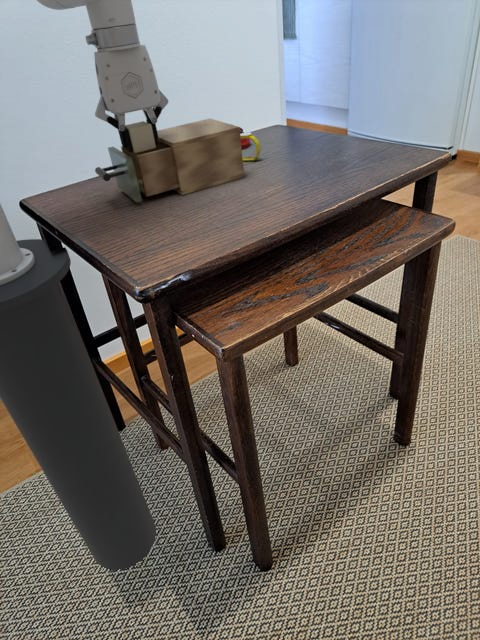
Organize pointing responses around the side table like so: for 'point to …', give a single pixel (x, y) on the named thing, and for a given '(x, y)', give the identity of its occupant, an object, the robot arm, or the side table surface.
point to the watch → (249, 135)
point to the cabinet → (204, 153)
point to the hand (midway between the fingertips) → (141, 146)
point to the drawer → (142, 171)
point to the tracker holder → (244, 140)
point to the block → (141, 136)
